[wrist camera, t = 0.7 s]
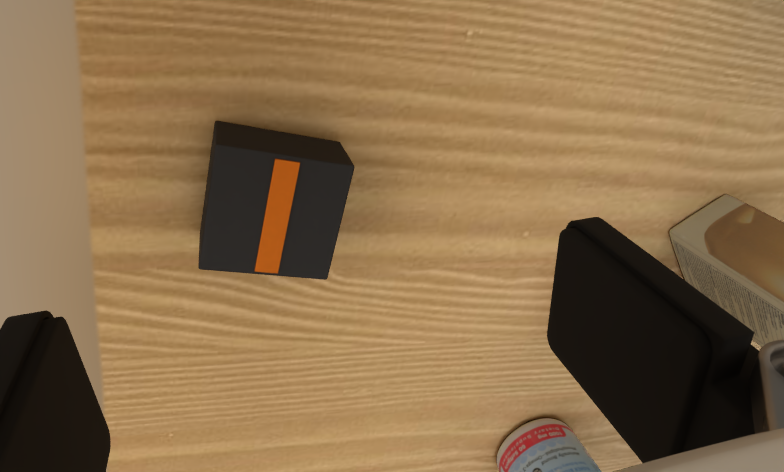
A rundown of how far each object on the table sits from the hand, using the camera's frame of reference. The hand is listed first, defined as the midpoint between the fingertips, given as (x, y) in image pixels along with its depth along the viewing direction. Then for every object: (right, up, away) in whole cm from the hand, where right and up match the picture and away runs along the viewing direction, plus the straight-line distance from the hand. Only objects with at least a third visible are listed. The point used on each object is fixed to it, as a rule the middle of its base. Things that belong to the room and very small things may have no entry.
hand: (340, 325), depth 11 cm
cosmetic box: (+21, +1, +25) cm, 33 cm away
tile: (-5, +4, +15) cm, 17 cm away
